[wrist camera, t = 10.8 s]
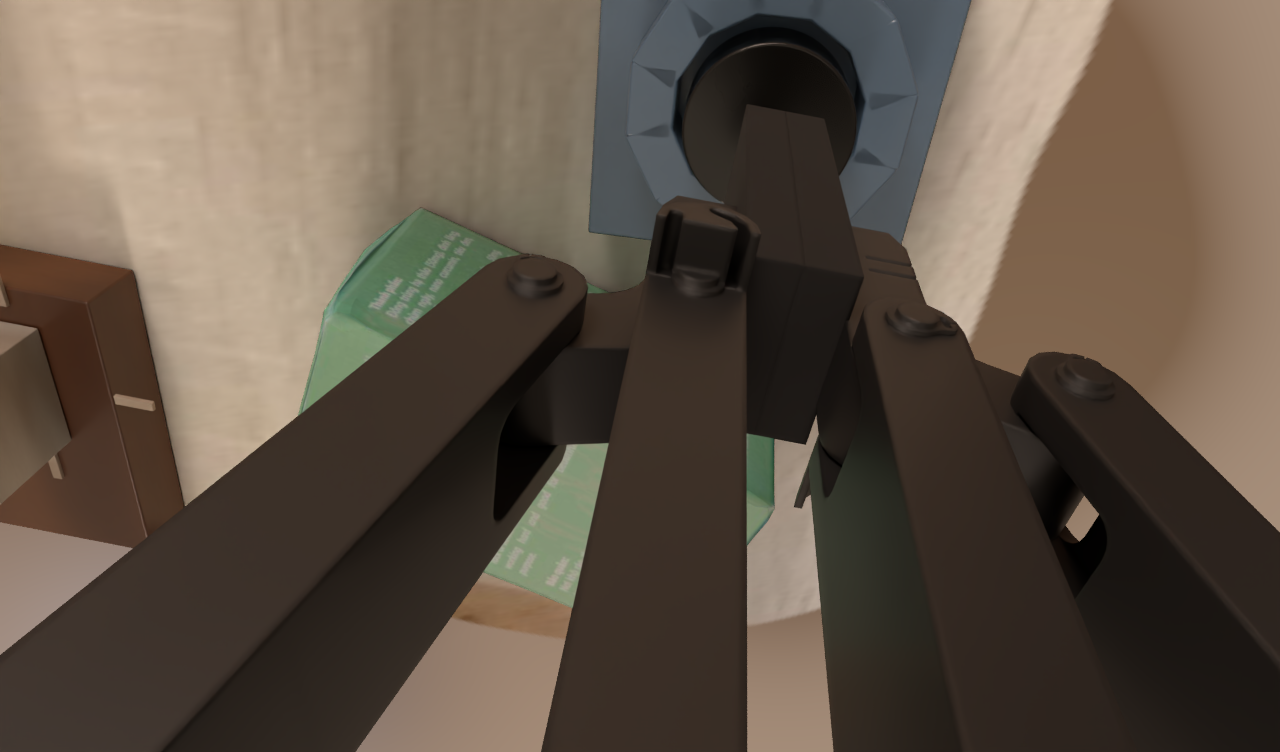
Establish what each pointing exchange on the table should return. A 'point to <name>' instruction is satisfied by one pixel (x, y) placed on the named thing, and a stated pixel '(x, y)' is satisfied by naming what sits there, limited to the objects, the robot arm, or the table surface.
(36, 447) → the red-tipped grey block
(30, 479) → the dial panel
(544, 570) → the box
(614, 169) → the button box
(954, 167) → the table surface
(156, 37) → the table surface
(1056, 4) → the table surface
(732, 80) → the button
